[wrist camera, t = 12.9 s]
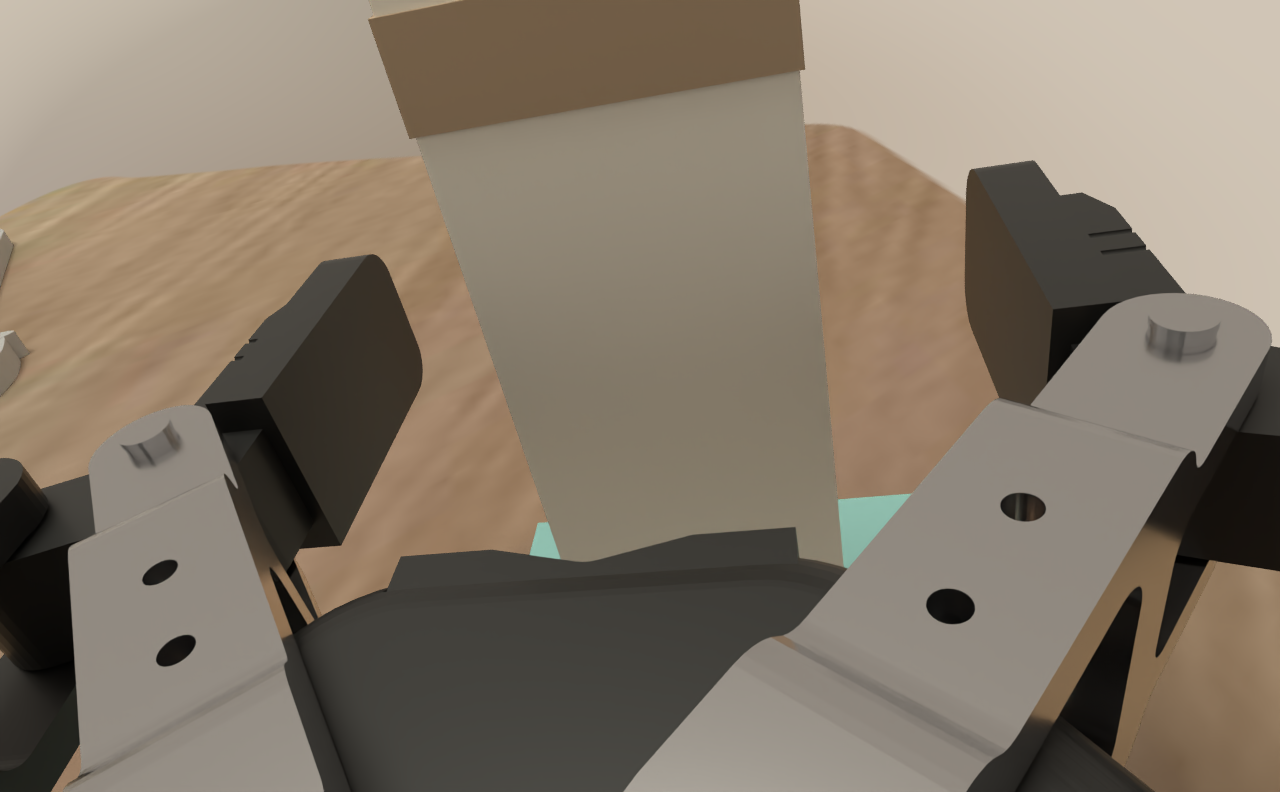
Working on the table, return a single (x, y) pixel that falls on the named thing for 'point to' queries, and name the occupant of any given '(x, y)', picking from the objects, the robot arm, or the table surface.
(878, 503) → the mat
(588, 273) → the post
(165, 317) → the table surface
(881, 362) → the table surface
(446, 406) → the table surface
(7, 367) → the adjustable wrench
